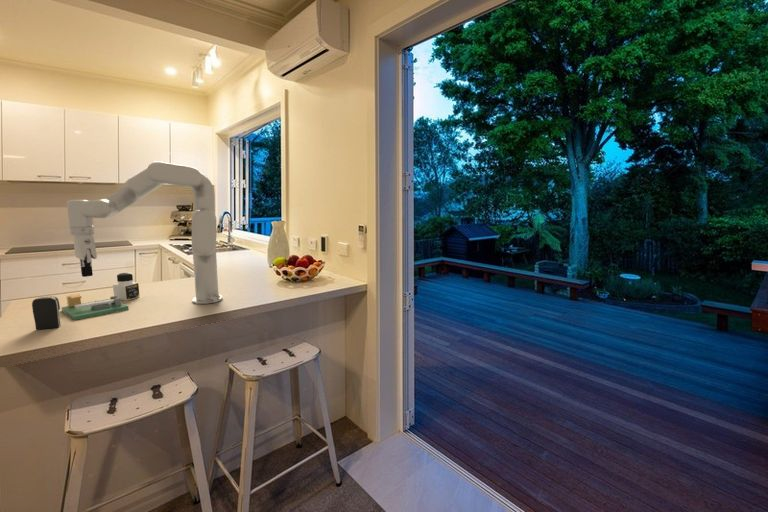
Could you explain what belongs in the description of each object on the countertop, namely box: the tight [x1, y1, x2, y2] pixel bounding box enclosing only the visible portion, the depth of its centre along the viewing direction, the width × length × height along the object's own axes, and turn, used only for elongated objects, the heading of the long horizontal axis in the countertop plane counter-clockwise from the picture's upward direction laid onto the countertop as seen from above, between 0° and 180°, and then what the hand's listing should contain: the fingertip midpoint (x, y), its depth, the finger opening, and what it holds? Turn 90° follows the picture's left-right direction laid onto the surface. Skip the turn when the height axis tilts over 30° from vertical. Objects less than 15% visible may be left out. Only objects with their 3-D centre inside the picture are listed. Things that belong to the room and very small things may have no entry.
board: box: [60, 295, 129, 321], centre depth 156 cm, size 19×18×5 cm
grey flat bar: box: [75, 298, 116, 308], centre depth 154 cm, size 3×14×1 cm, turn 143°
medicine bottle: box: [112, 272, 140, 302], centre depth 173 cm, size 7×7×12 cm
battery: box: [31, 296, 61, 330], centre depth 135 cm, size 7×4×11 cm, turn 112°
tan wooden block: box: [65, 293, 82, 307], centre depth 155 cm, size 6×4×4 cm, turn 52°
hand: (87, 275), depth 151 cm, fingers closed
